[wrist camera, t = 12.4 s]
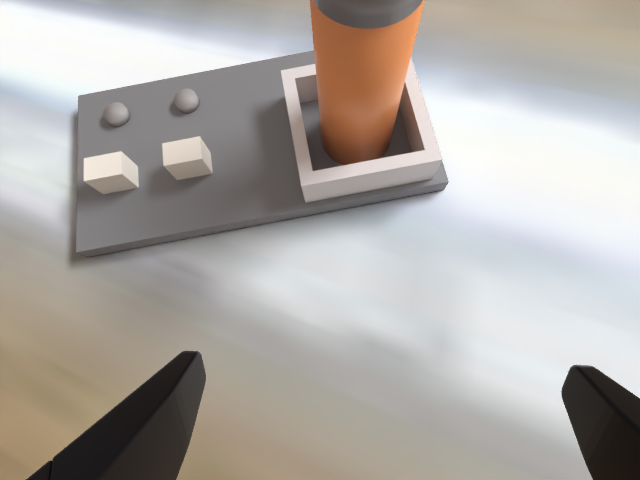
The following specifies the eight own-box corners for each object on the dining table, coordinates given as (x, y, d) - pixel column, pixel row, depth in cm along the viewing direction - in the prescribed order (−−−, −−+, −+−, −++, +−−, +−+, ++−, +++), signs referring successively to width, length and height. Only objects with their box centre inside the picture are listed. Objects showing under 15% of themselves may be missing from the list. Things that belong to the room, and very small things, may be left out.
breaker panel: (88, 257, 25) (46, 241, 22) (88, 106, 29) (53, 71, 25) (443, 189, 25) (460, 162, 22) (400, 46, 29) (408, 2, 25)
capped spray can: (347, 179, 24) (355, 0, 12) (308, 128, 26) (278, -83, 13) (404, 142, 25) (470, -66, 13) (363, 94, 26) (386, -140, 14)
